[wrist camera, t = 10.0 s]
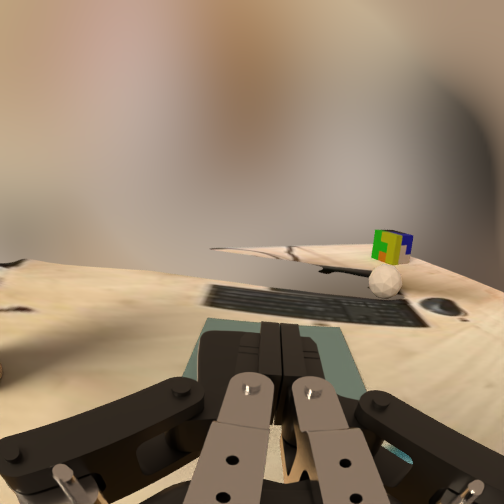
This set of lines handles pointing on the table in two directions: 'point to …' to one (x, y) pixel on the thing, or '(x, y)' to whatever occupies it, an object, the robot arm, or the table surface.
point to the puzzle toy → (392, 247)
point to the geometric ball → (385, 281)
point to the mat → (330, 350)
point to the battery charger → (217, 357)
